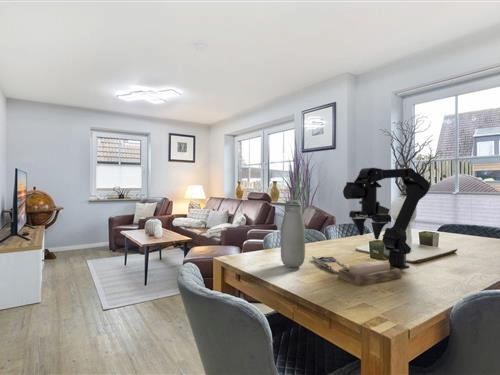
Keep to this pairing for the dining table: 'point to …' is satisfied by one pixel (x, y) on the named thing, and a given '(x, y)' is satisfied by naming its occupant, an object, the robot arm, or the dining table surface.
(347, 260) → the dining table surface
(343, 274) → the brown wooden tray
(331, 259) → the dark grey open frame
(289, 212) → the grey vase
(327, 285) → the dining table surface
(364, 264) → the pale pink bar
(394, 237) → the robot arm
